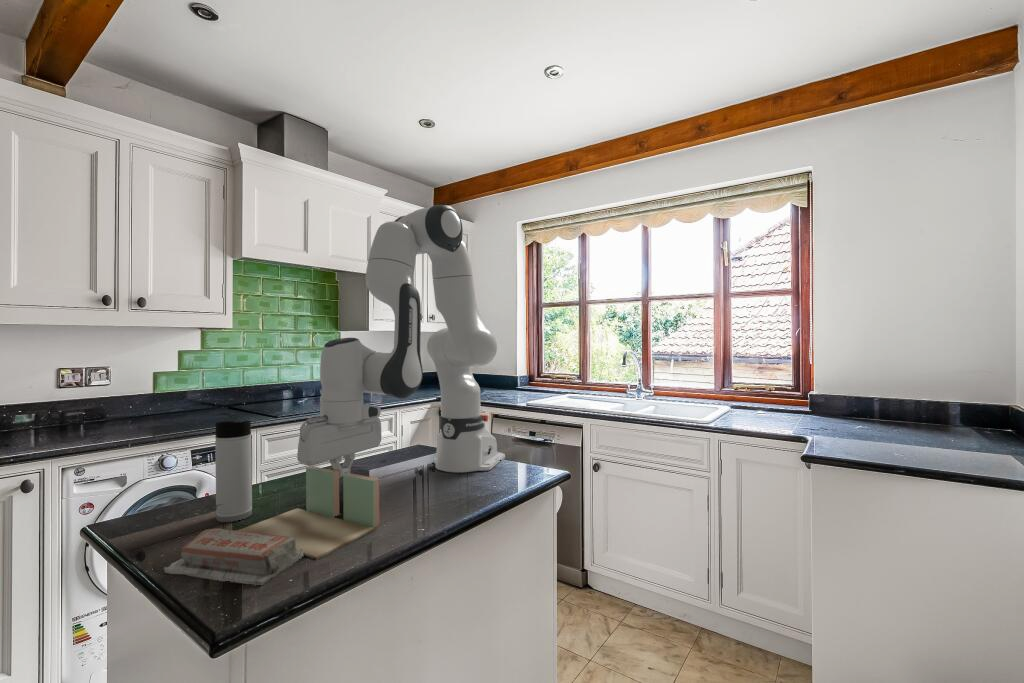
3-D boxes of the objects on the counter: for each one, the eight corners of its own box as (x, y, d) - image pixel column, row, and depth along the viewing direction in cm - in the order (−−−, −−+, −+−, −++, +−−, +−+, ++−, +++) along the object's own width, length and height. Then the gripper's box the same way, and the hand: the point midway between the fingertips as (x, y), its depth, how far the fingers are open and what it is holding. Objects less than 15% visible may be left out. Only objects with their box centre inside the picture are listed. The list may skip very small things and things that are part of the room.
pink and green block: (349, 517, 94) (349, 473, 94) (379, 524, 90) (379, 478, 90) (343, 520, 93) (343, 475, 92) (373, 527, 89) (373, 481, 89)
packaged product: (305, 529, 78) (260, 557, 68) (306, 558, 78) (261, 590, 68) (216, 519, 82) (162, 544, 72) (217, 547, 82) (162, 575, 72)
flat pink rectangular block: (312, 508, 99) (312, 466, 99) (339, 514, 95) (338, 471, 95) (306, 510, 98) (305, 468, 98) (333, 517, 94) (332, 473, 94)
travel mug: (209, 524, 91) (208, 422, 90) (224, 512, 97) (223, 416, 97) (243, 522, 92) (242, 421, 91) (256, 510, 98) (255, 415, 98)
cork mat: (297, 509, 98) (297, 508, 98) (374, 530, 88) (374, 527, 88) (235, 533, 87) (235, 531, 87) (316, 559, 76) (316, 556, 76)
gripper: (311, 421, 90) (311, 492, 91) (385, 407, 108) (386, 466, 109) (289, 418, 93) (290, 487, 93) (366, 405, 111) (366, 463, 112)
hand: (342, 475), depth 101 cm, fingers closed
